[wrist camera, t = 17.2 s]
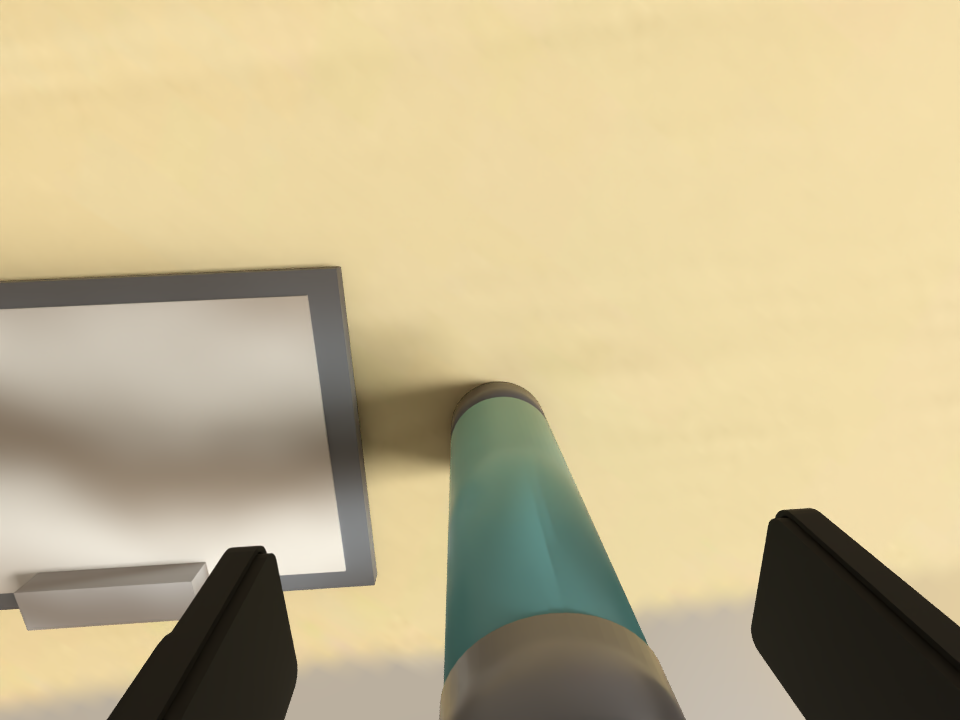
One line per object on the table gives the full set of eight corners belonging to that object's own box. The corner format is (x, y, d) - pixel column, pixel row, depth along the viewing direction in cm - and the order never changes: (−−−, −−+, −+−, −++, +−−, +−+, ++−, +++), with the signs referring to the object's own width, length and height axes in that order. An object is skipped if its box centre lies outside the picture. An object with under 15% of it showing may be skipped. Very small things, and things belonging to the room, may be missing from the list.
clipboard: (-240, 291, 15) (-325, 300, 13) (340, 266, 16) (327, 271, 14) (-96, 605, 18) (-151, 642, 17) (376, 573, 19) (369, 607, 17)
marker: (440, 392, 17) (404, 750, 5) (537, 371, 17) (706, 689, 5) (461, 477, 18) (468, 935, 6) (552, 458, 18) (724, 884, 6)
